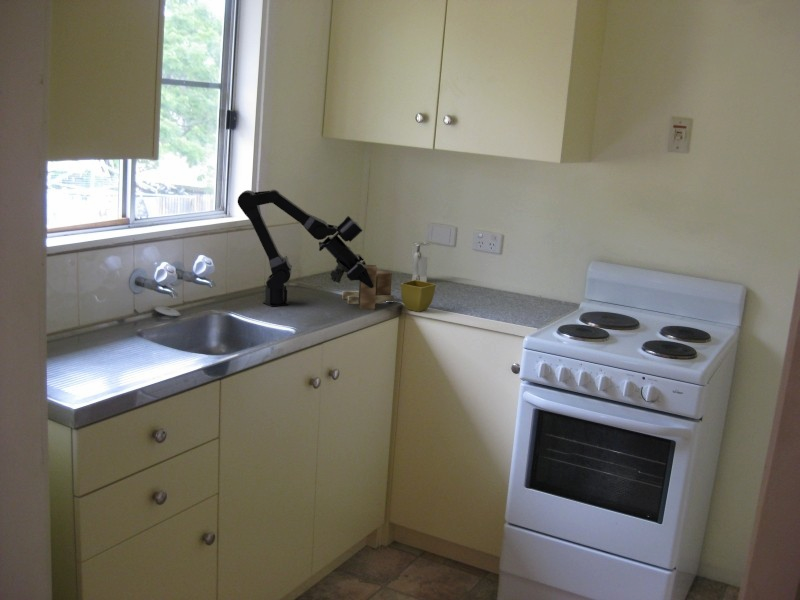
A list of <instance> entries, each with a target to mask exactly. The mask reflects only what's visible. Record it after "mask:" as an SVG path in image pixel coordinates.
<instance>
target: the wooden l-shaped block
mask: <svg viewBox="0 0 800 600" xmlns="http://www.w3.org/2000/svg"><path fill="white" fill-rule="evenodd" d="M392 276H393V274H392V272H391V271H389V270H377V274H376V296H375V304H384V303H383V302H386V301H394V299H395V297H394V296H395V295H393V294H391V293H392ZM341 293H342V294H341V298H342V300H347V305H360V304H359V290H343V291H342V292H341Z"/></svg>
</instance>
